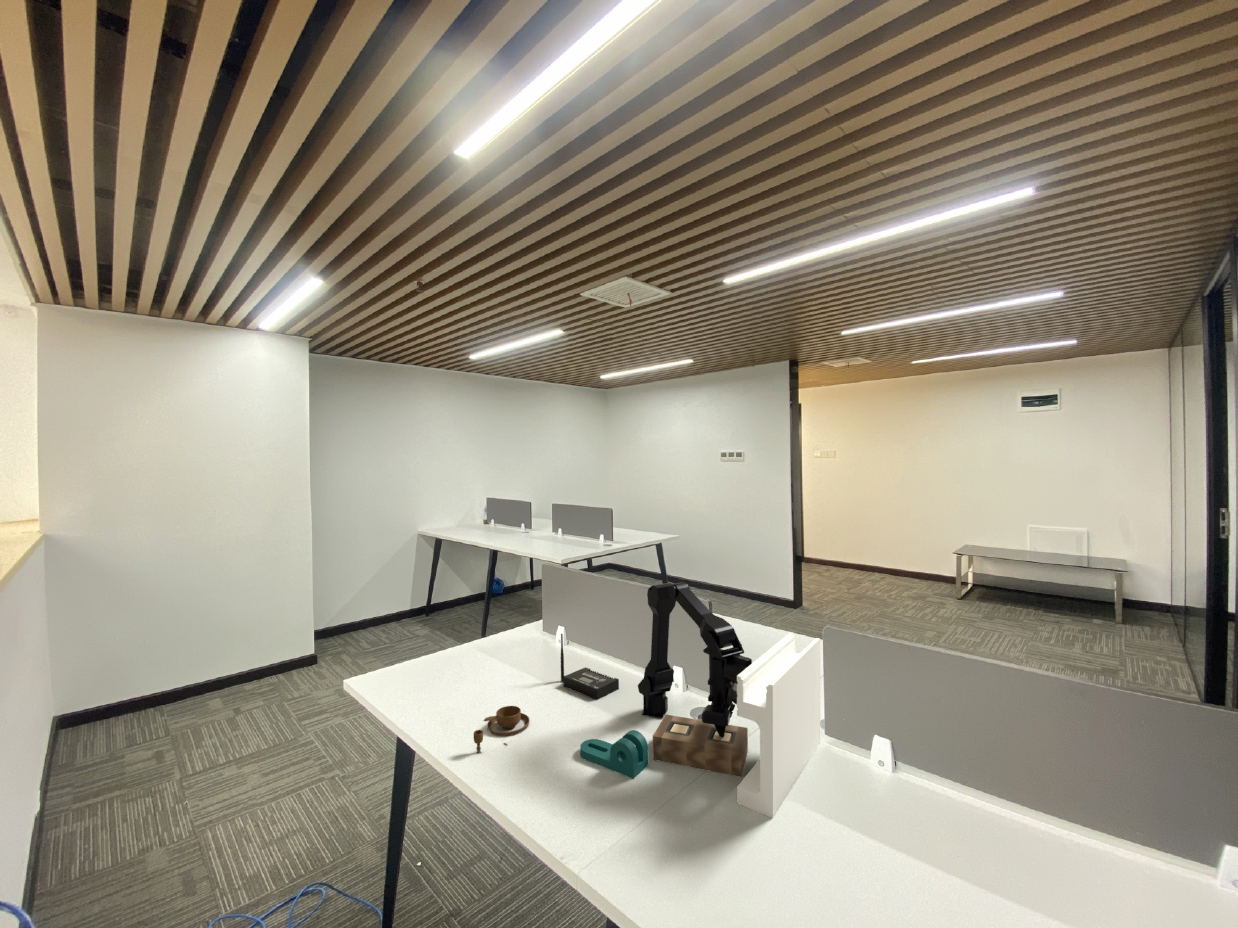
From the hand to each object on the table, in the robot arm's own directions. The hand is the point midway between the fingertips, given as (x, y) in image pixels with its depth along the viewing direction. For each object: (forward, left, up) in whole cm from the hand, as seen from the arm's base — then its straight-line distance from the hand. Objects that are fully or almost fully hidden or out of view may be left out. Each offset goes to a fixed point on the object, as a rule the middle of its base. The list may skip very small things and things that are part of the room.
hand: (722, 736), depth 129 cm
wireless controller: (-51, +28, -7) cm, 59 cm away
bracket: (-27, -10, -6) cm, 29 cm away
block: (+14, 0, -6) cm, 16 cm away
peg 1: (-11, 0, -6) cm, 12 cm away
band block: (-6, 0, -6) cm, 8 cm away
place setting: (-63, -7, -7) cm, 64 cm away
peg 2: (0, 0, -6) cm, 6 cm away
